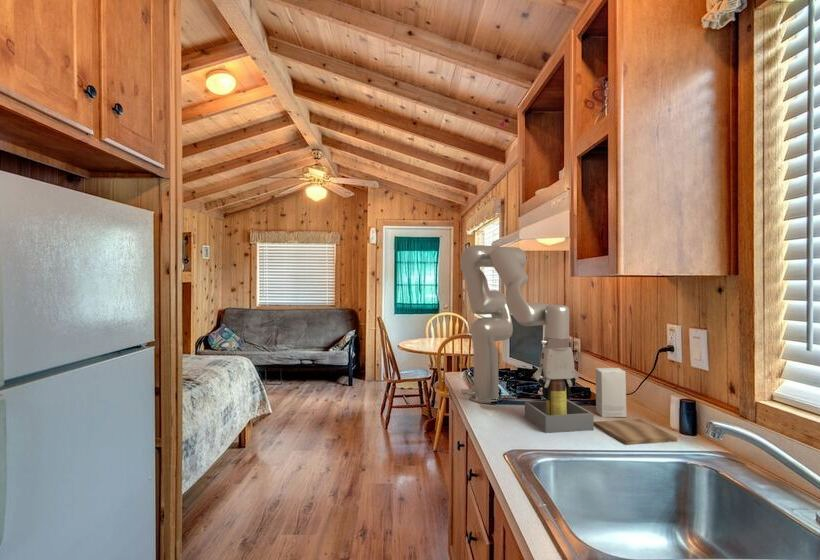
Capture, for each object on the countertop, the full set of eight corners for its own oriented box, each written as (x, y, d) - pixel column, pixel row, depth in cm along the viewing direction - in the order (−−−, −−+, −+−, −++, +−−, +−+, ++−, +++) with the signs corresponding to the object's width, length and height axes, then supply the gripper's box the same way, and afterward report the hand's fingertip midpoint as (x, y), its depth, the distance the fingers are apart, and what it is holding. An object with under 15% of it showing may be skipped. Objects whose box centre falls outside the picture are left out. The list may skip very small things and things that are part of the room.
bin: (545, 432, 129) (545, 416, 129) (524, 416, 144) (524, 401, 144) (593, 430, 131) (593, 413, 131) (567, 414, 146) (567, 399, 146)
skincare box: (619, 412, 148) (619, 367, 148) (627, 418, 142) (627, 371, 142) (594, 411, 149) (594, 367, 149) (601, 417, 143) (601, 371, 143)
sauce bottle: (571, 422, 137) (571, 361, 137) (558, 426, 133) (558, 363, 133) (554, 417, 142) (554, 357, 142) (541, 420, 139) (542, 359, 139)
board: (625, 444, 119) (625, 440, 119) (593, 425, 135) (593, 421, 135) (677, 441, 121) (677, 437, 121) (639, 422, 137) (639, 419, 137)
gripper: (536, 345, 133) (536, 403, 133) (588, 344, 135) (587, 400, 135) (526, 341, 140) (526, 396, 140) (575, 340, 143) (575, 394, 143)
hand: (556, 398), depth 138 cm, fingers closed on sauce bottle, 6 cm apart
